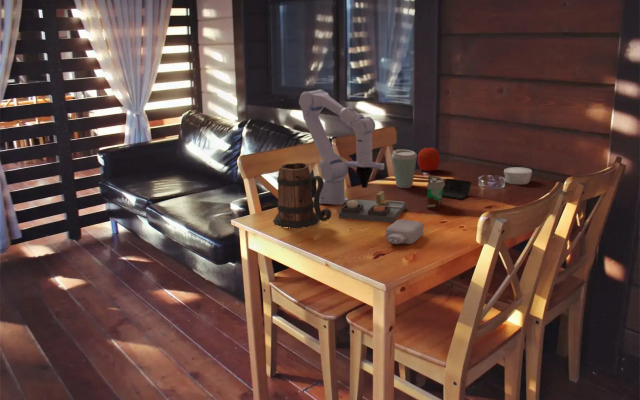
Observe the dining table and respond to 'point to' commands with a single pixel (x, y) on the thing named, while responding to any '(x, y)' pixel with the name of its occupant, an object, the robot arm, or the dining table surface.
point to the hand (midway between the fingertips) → (364, 187)
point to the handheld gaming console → (456, 189)
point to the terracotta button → (379, 208)
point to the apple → (428, 159)
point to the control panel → (368, 213)
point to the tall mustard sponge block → (381, 198)
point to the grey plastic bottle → (404, 231)
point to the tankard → (298, 197)
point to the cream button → (352, 204)
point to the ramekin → (517, 175)
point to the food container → (434, 192)
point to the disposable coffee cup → (404, 167)
